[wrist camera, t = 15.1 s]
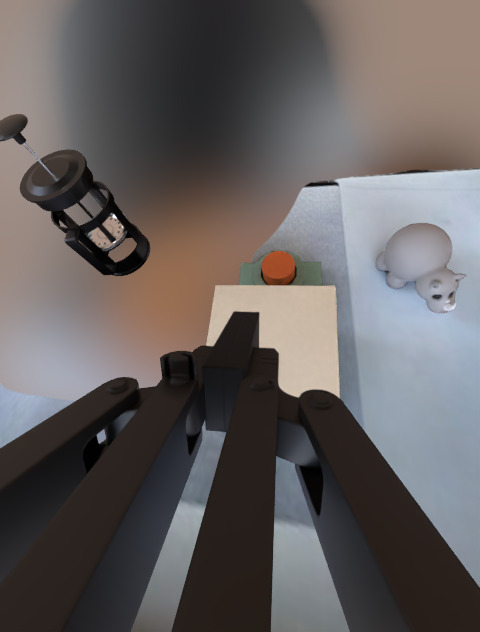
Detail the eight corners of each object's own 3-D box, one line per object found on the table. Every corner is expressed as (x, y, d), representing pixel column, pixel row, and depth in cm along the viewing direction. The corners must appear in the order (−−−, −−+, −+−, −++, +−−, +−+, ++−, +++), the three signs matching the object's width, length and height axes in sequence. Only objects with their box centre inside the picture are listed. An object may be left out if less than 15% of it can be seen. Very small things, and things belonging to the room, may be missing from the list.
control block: (237, 315, 41) (232, 303, 37) (243, 266, 44) (239, 251, 40) (320, 317, 38) (323, 305, 35) (320, 265, 41) (322, 249, 38)
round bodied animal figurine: (403, 332, 35) (434, 305, 28) (366, 260, 40) (384, 219, 33) (458, 318, 35) (506, 286, 27) (414, 246, 40) (444, 202, 32)
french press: (108, 233, 52) (-13, 100, 31) (154, 227, 50) (58, 85, 30) (95, 286, 47) (-58, 173, 27) (144, 282, 46) (24, 158, 25)
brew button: (262, 287, 38) (260, 278, 35) (264, 260, 39) (262, 251, 37) (294, 287, 37) (294, 278, 35) (295, 260, 38) (295, 250, 36)
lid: (217, 288, 30) (215, 284, 30) (334, 289, 28) (335, 285, 27) (197, 415, 25) (195, 414, 24) (339, 430, 23) (341, 430, 22)
